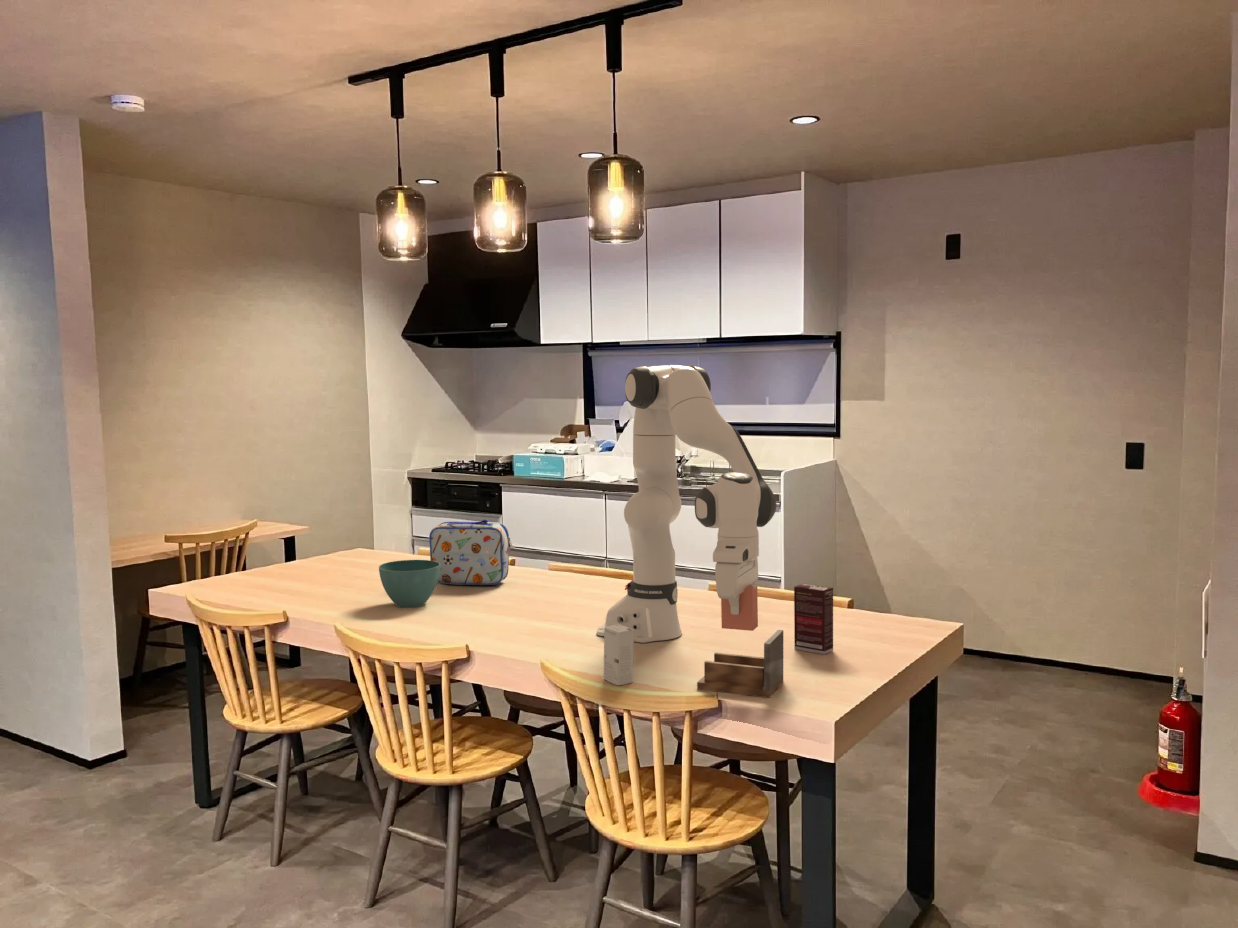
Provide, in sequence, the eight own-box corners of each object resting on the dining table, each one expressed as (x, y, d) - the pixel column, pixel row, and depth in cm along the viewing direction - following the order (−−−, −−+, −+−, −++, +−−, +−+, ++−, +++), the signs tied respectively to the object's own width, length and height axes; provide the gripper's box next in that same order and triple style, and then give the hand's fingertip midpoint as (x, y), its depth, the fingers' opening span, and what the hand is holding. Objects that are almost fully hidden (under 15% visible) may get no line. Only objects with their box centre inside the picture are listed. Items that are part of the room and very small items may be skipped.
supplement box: (834, 650, 234) (834, 587, 233) (824, 655, 230) (824, 590, 229) (802, 644, 239) (803, 582, 238) (793, 649, 236) (793, 586, 234)
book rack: (697, 688, 206) (696, 636, 205) (714, 673, 217) (713, 623, 216) (769, 697, 200) (769, 643, 199) (783, 681, 211) (783, 630, 210)
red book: (721, 628, 207) (720, 587, 206) (727, 623, 210) (726, 583, 210) (753, 630, 204) (752, 589, 203) (757, 626, 208) (757, 585, 207)
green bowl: (448, 598, 298) (447, 559, 297) (431, 612, 280) (430, 570, 279) (391, 597, 299) (390, 559, 298) (371, 611, 281) (369, 570, 280)
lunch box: (515, 581, 323) (514, 516, 321) (508, 587, 312) (506, 521, 310) (437, 579, 326) (435, 516, 324) (427, 586, 316) (425, 520, 314)
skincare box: (602, 679, 213) (602, 626, 212) (619, 675, 216) (618, 623, 215) (618, 686, 208) (617, 632, 207) (635, 682, 211) (634, 628, 210)
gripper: (737, 539, 217) (738, 599, 218) (709, 555, 198) (711, 620, 199) (764, 541, 214) (765, 601, 215) (739, 556, 195) (740, 622, 197)
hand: (739, 610), depth 207 cm, fingers closed on red book, 4 cm apart
